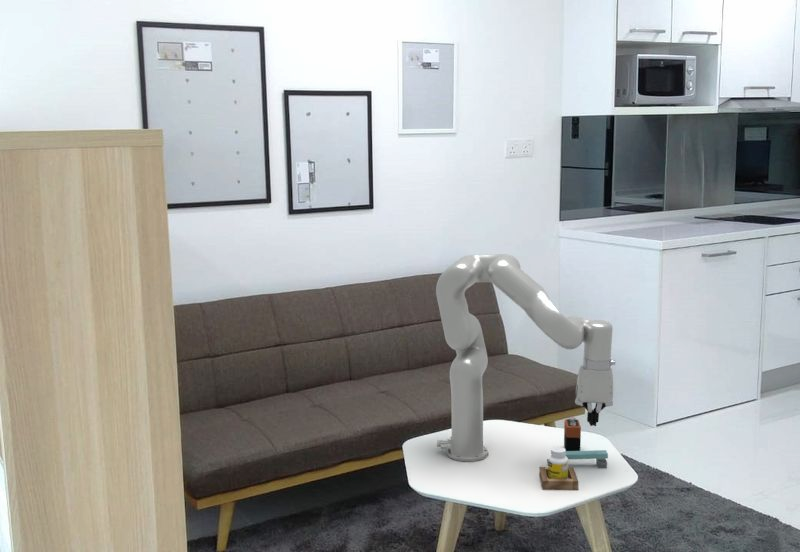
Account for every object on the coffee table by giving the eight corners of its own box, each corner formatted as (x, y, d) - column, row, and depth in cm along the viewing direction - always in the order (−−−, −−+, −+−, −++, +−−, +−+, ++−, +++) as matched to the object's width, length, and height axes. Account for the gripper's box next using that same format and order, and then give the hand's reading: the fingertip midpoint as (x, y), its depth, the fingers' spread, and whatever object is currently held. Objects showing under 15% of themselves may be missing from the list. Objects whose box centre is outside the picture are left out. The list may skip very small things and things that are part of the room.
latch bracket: (549, 469, 246) (549, 456, 245) (546, 460, 252) (547, 448, 252) (607, 470, 245) (607, 456, 244) (603, 461, 251) (604, 448, 250)
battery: (578, 447, 262) (578, 416, 261) (580, 455, 256) (581, 424, 254) (563, 446, 263) (564, 416, 261) (565, 455, 256) (566, 423, 254)
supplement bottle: (544, 481, 238) (544, 448, 236) (557, 476, 241) (557, 444, 239) (558, 488, 233) (559, 454, 232) (571, 483, 237) (572, 449, 235)
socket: (542, 489, 233) (543, 480, 232) (539, 475, 242) (539, 466, 242) (578, 489, 232) (578, 481, 232) (573, 475, 242) (573, 467, 241)
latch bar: (554, 460, 247) (554, 454, 247) (553, 456, 250) (553, 450, 250) (607, 459, 246) (607, 453, 246) (606, 455, 249) (606, 449, 249)
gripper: (620, 360, 246) (616, 420, 250) (568, 358, 247) (564, 418, 250) (625, 368, 239) (621, 430, 242) (572, 366, 239) (568, 428, 243)
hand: (592, 424), depth 246 cm, fingers closed
